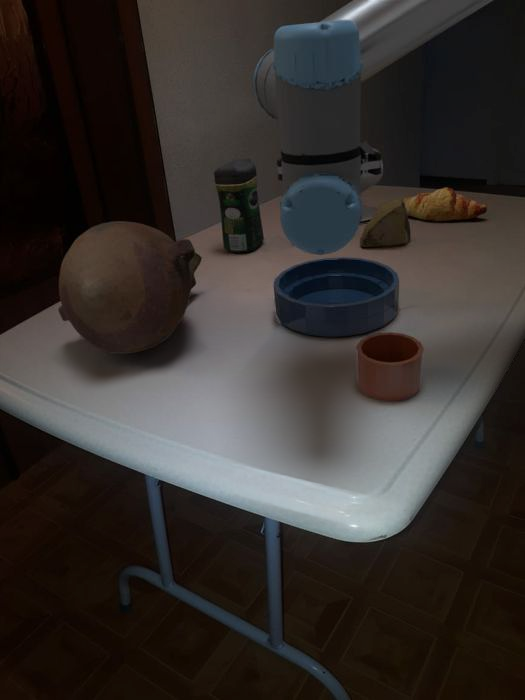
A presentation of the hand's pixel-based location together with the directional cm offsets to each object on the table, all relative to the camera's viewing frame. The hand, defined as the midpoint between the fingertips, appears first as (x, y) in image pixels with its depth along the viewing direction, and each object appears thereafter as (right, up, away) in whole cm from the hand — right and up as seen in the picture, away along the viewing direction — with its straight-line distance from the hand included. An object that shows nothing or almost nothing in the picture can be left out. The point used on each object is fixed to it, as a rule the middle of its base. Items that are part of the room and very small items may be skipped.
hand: (332, 142), depth 84 cm
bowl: (+2, -25, +8) cm, 26 cm away
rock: (+15, -9, +34) cm, 39 cm away
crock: (+6, -36, -12) cm, 38 cm away
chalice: (+12, +2, +53) cm, 54 cm away
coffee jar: (-15, -8, +41) cm, 44 cm away
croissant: (+31, 0, +47) cm, 56 cm away
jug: (-29, -27, +10) cm, 41 cm away
